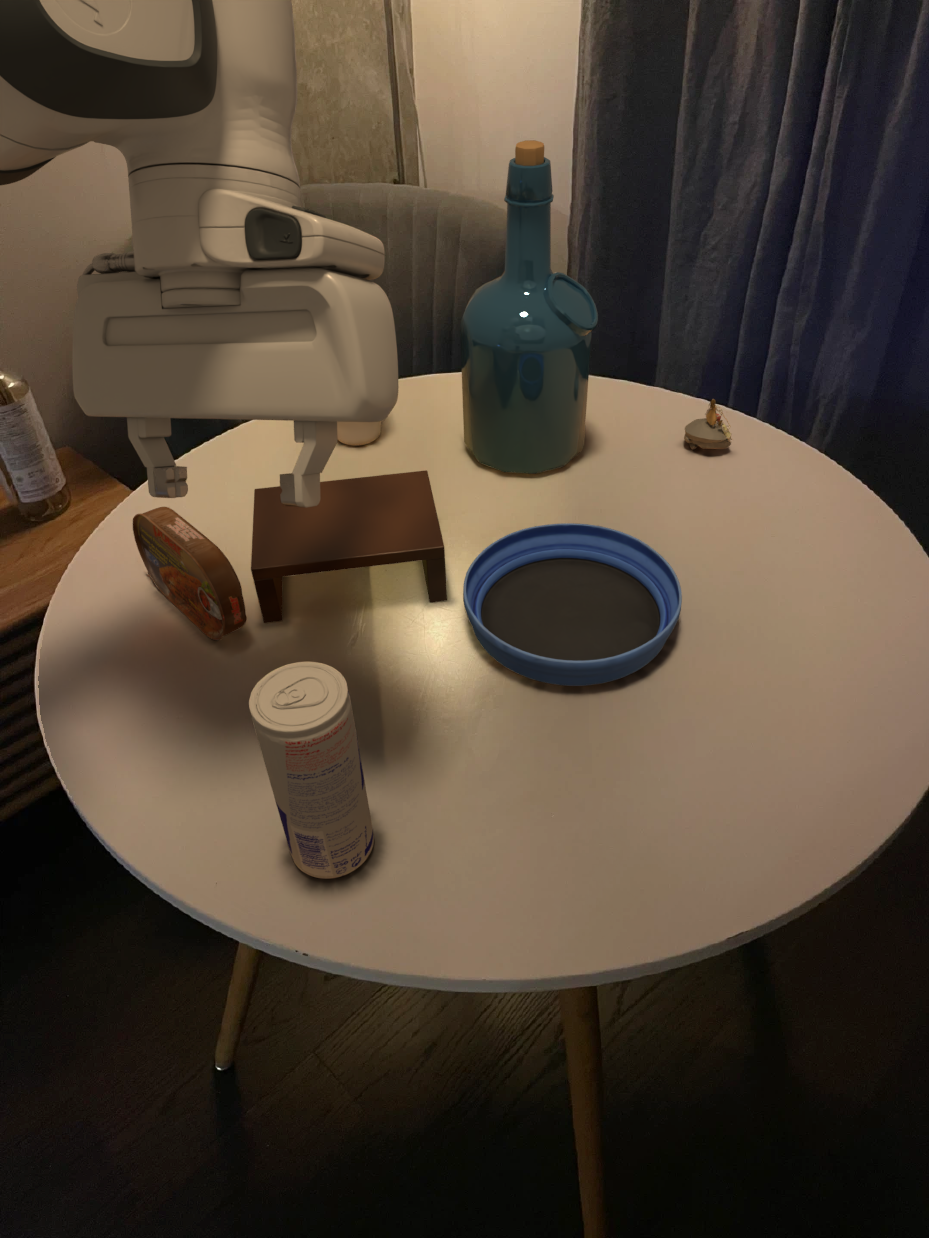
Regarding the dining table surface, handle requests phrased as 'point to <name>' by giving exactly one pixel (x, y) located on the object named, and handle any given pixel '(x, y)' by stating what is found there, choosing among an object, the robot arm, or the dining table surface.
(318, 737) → the beverage can
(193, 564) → the tin
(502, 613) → the bowl
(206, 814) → the dining table surface
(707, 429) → the figurine
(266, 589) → the shelf
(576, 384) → the wine bottle
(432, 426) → the dining table surface
